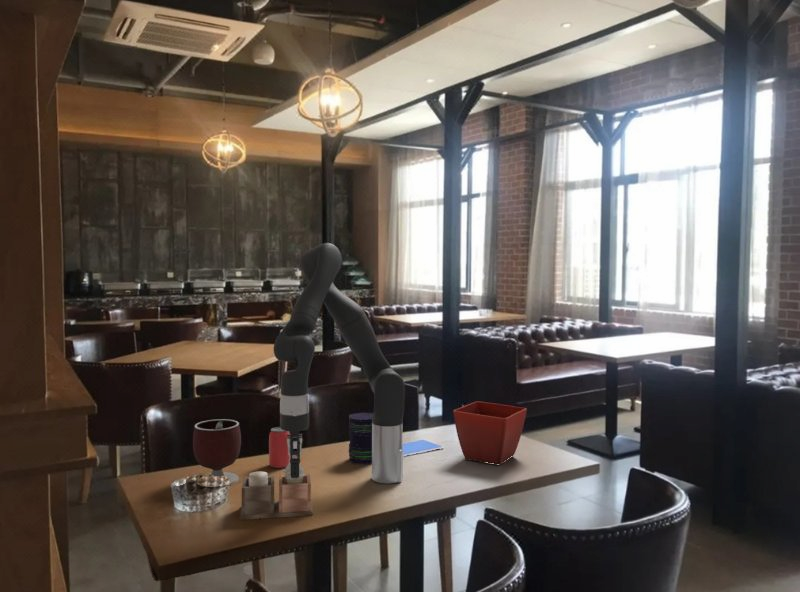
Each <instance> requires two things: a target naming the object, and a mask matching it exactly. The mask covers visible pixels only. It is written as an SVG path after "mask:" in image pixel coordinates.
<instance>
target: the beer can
mask: <svg viewBox="0 0 800 592" xmlns="http://www.w3.org/2000/svg"><path fill="white" fill-rule="evenodd" d="M287 435H290V432H289V431H284V430H282V429H281V428H280V426H276V427H272V428H271V429H270V432H269V435H268V465H269V466H270V467H271V468H273V469H283V468H284V469H285V468H286V467H287V466H288V464H289V460H290V455H289V454H288V444H287Z"/></svg>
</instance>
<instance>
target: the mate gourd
mask: <svg viewBox="0 0 800 592" xmlns="http://www.w3.org/2000/svg"><path fill="white" fill-rule="evenodd" d="M193 429H194V430H193V435H192V449H193V455H194V459H195V460H196V462H197V463H198V464H199V465H200V466H201V467H203V468H207V469H210V470H211V472H209V473H208V474H211V475H214V476H226V477H227V478H228V479H229V481H230V485H229V486H232V485H234V484H236V483H237V482H238V481H239V475H238V474H236V473H233V472H228V471H227V472H226V471H223V469H224V468H226V467H229V466H232V465H233V464H234V463H235V462H236V460H237V459H238V458H239V456H240V452H241V446H242V433H241V427H240V422H238V421H237V420H234V419H228V418H227V419H226V418H223V419H222V418H221V419H218V418H217V419H209V420H204V421H203V420H202V421H200V422H197V423H195V425H194V428H193ZM235 482H236V483H235ZM233 483H234V484H233ZM231 484H232V485H231Z"/></svg>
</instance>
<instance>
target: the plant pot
mask: <svg viewBox="0 0 800 592" xmlns="http://www.w3.org/2000/svg"><path fill="white" fill-rule="evenodd" d="M527 411H528V409H527V407H521V406H514V405H508V404H501V403H492V402H485V401H474V402H471V403H469V404H466V405H464V406H461V407H458V408H456V409H454V410H453V418H454V425H455V430H456V435H457V438H458V442H459V446H460V449H461V451H462V454H463V457H464V459H465V460H467V459H470V460H469V461H472V460H475V461H474V462H477V461H481V462H480V463H482V462H488V463H494V464H501V463H502V462H504V461H505V460H507V459H508V458H510V457H511V456H513V455H514V456H515V454H516V452H517V448H518V446H519V442H520V439H521V436H522V433H523V430H524V426H525V425H524V424H525V421H526V416H527ZM514 456H513V457H514ZM507 461H508V460H507ZM504 463H505V462H504ZM501 465H502V464H501Z"/></svg>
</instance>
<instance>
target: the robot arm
mask: <svg viewBox="0 0 800 592" xmlns="http://www.w3.org/2000/svg"><path fill="white" fill-rule="evenodd" d="M299 261H300V267H301V270H302V272H303V274H304V276H305V277H306V279H307V280H308V282H309V283H308V284H307V285H306V287H305V288H304V289H303V290H302V292H301V294H300V295H299V296H298V298H297V300H296V302H295V305H294V307H293V310H292V312H291V315H290V318H289V320H288V322H287V323H286V325H285V326H284V327H283V329H282V330H281V331H280V333H279V334H278V335H277V337H276V339H275V341H274V344H273V354H274V356H275V358H276V360H277V361H279V362H285V363H286V362H287V363H298V365H297V367H296V369H291V370H286V371H283V372H282V373H281V376H280V399H279V400H280V401H279V427H280V428H281V429H282V430H284V431H289V434H290V435H287V444H288V454H289V455H290V464H291V478H298V477H299V464H300V463H301V455H302V444H303V434H302V433H300V432H301V431H306V430H308V429H309V427H310V403H309V402H310V400H309V387H308V386H309V374H310V370H311V364H312V362H313V358H314V355H315V351H316V346H315V342H314V340H313V339H312V337H310V336H309V335H310V334H313V333H314V330H315V328H316V325H317V321H318V318H319V315H320V312H321V308H322V306H323V305H325V308H326V309H327V311H328V313H329V314H330V316H331V318H332V319H333V321H334V324H335V326H336V327H337V329H338V331H339V333H340V335H341V337H342V338H343V340H344V341H345V343H346V344H347V347H348V348H349V349H350V351H351V352H352V354H353V355H354V356H355V357H356V359H357V360H358V362H359V363H360V365H361V367H362V369H363V371H364V374H365V376H366V379H367V381H368V383H369V386H370V388H371V390H372V391H371V392H373V394H374V397H373V398H374V399H373V412H372V413H373V415H372V464H371V480H372V481H373V482H376V483H378V484H395V483H402V481H403V477H404V457H403V446H402V444H403V431H404V430H403V426H404V425H403V421H404V420H403V419H404V415H405V405H406V404H405V402H406V401H405V400H406V399H405V398H406V397H405V396H406V388H405V386H406V385H405V382H404V379H403V377H402V376H401V375H400V374H399V373H397V372H396V371H395V370H394V369H393V367H392V366H391V365H390V363H389V362H388V360H387V359H386V357H385V356H384V354H383V352H382V350H381V347H380V345H379V342H378V339H377V335H376V334H375V331H374V328H373V326H372V324H371V322H370V320H369V318H368V316H367V315H366V313H365V311H364V309H363V308H362V306H360V305H359V304H358V303H357V302H355V301H354V300H353V299H352V298H350V297H348V296H347V295H345V294H344V293H342V292H341V291H340V290H339V289H338V287H336V285H335V284H334V280H335V279H336V276H337V275H338V273H339V271H340V269H341V267H342V262H343V257H342V253H341V252H340V250H339V248H338V247H337V246H336V245H334V244H333V243H330V242H325V243H321V244H319V245H317V246H314V247H313V248H311V249H309V250H307V251H305V252H303V254H301V256H300V259H299ZM292 455H296V456H297V458H295V459H292Z"/></svg>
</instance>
